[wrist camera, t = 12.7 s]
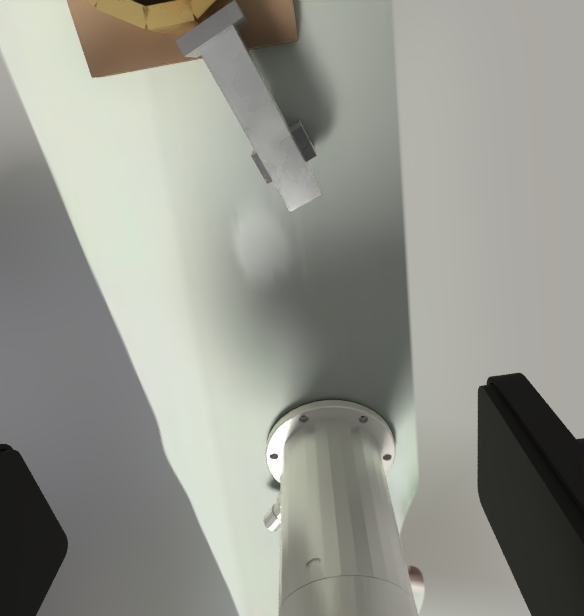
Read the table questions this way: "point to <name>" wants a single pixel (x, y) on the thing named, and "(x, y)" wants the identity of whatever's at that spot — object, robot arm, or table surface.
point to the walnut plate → (167, 35)
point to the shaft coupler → (234, 84)
